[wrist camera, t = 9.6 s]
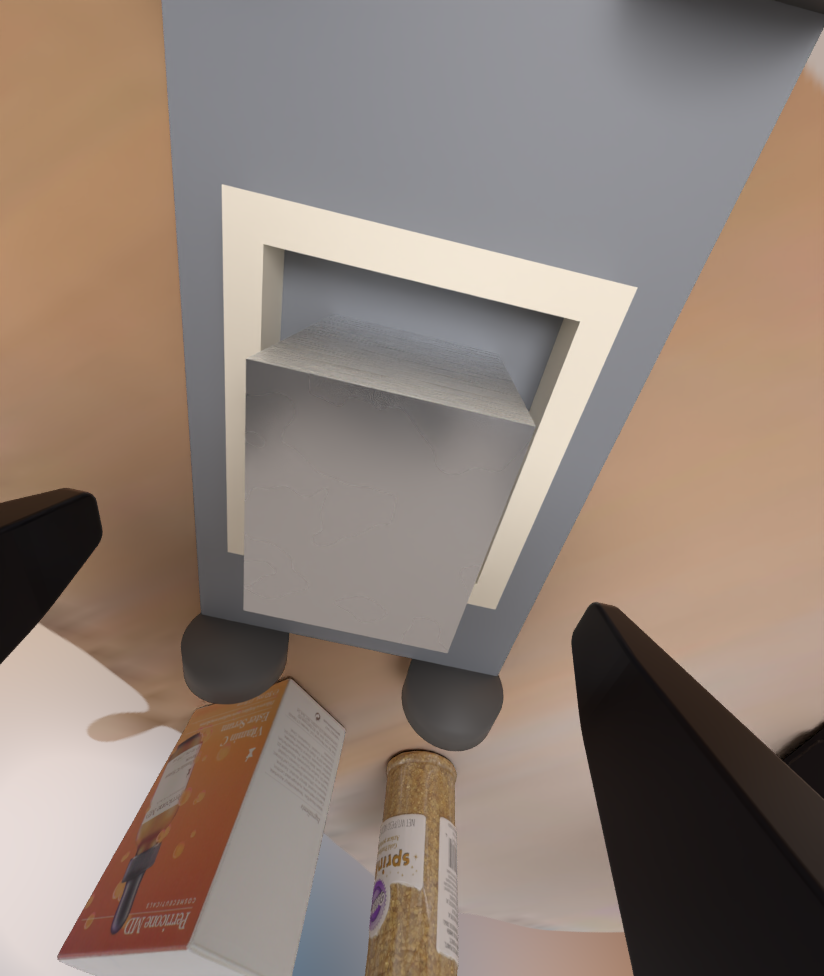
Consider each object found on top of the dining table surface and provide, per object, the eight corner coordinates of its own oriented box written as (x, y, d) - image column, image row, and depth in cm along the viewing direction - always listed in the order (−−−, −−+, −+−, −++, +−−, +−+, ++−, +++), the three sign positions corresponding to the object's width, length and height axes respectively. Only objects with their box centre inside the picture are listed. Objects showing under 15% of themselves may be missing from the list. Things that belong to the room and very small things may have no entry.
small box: (293, 673, 23) (189, 950, 14) (349, 728, 25) (292, 998, 16) (192, 708, 25) (47, 963, 16) (251, 755, 28) (153, 1003, 18)
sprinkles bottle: (392, 741, 25) (345, 1155, 14) (465, 754, 25) (478, 1177, 14) (382, 778, 28) (333, 1160, 16) (448, 790, 28) (448, 1179, 16)
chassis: (835, -51, 9) (1119, -276, 5) (488, 670, 21) (497, 760, 18) (178, -239, 8) (-44, -645, 5) (213, 612, 21) (161, 692, 17)
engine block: (498, 353, 12) (536, 426, 7) (447, 517, 15) (447, 653, 10) (333, 314, 12) (245, 358, 7) (314, 487, 15) (243, 610, 10)
